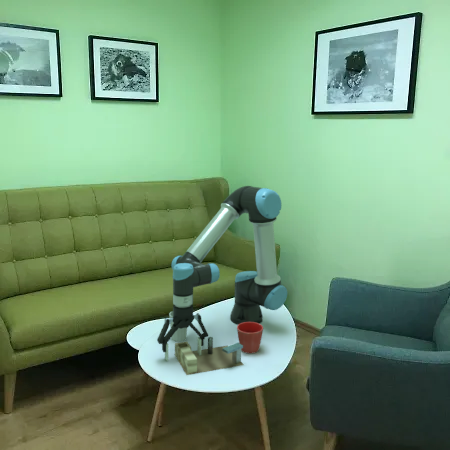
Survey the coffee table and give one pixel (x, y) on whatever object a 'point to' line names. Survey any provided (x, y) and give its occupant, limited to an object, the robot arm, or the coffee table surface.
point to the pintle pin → (210, 345)
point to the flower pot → (250, 336)
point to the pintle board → (212, 360)
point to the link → (186, 356)
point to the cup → (178, 332)
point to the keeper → (234, 352)
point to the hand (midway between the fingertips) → (183, 356)
